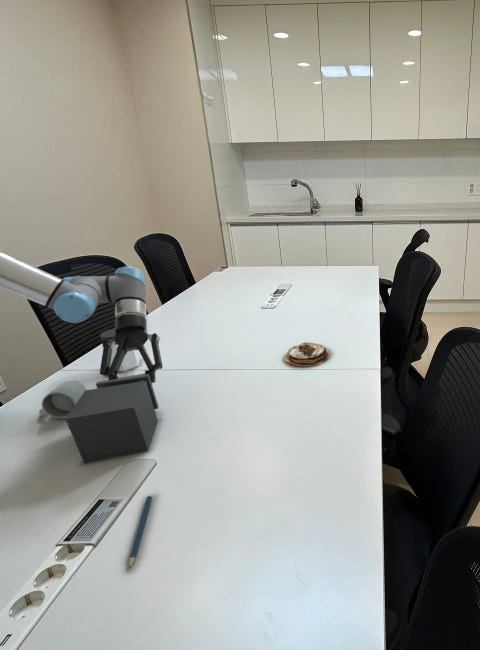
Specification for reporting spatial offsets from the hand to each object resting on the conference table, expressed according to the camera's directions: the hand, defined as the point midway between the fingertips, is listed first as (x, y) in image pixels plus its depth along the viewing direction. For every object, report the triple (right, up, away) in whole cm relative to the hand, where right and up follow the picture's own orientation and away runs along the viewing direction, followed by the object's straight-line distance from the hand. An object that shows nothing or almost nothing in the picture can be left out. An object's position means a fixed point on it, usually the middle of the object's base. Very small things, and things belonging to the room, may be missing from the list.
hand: (132, 397), depth 101 cm
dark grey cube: (+4, -9, -10) cm, 14 cm away
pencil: (+22, -19, -33) cm, 43 cm away
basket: (+1, -4, -2) cm, 5 cm away
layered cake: (+41, +9, +28) cm, 51 cm away
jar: (-18, +6, +25) cm, 32 cm away
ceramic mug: (-19, -4, +2) cm, 20 cm away
